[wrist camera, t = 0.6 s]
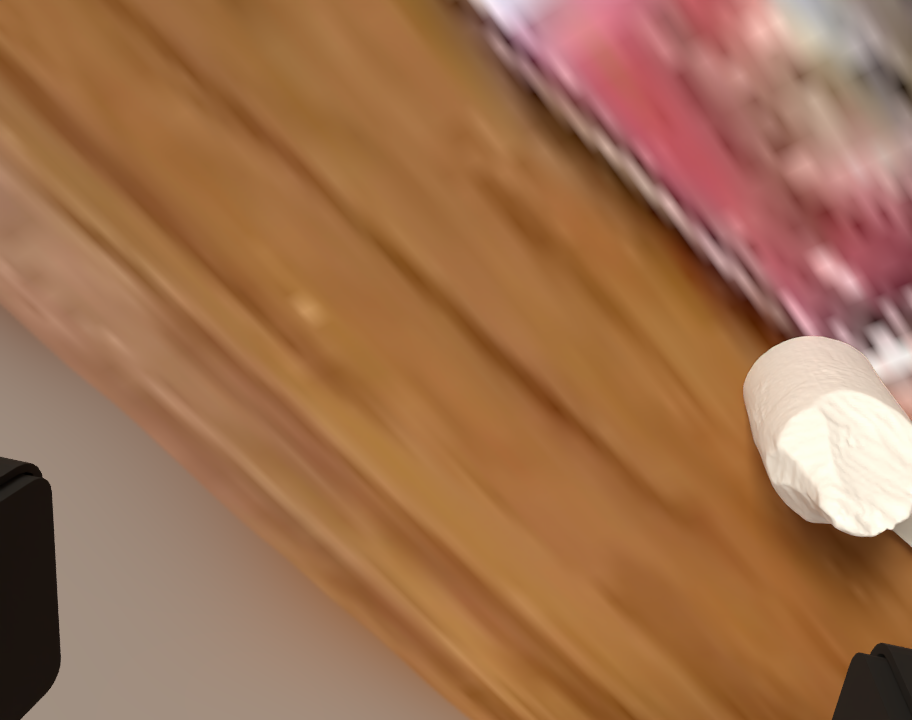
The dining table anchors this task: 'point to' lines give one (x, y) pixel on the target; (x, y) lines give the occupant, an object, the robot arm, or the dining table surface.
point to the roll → (831, 435)
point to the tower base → (905, 530)
